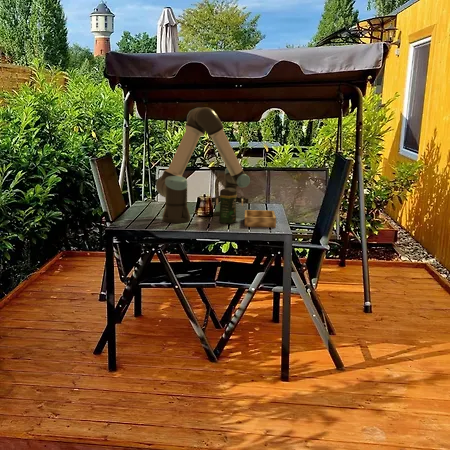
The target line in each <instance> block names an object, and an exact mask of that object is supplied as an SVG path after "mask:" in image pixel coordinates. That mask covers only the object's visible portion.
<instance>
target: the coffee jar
mask: <svg viewBox="0 0 450 450" xmlns="http://www.w3.org/2000/svg"><path fill="white" fill-rule="evenodd" d="M219 196H220V202H219V219H218V220H219V223H221V224H225V225H226V224H229V225H230V224H232V223H233V224H234V223H235V222H236V221H237V202H236V197H238V189H237V190H236V189H235V188H225V187H224V188H222V189H220V191H219Z"/></svg>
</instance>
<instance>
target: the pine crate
mask: <svg viewBox="0 0 450 450" xmlns="http://www.w3.org/2000/svg"><path fill="white" fill-rule="evenodd" d="M244 227H247V228H277V217H276V213H275V210H263V209H262V210H259V209H257V210H256V209H255V210H254V209H251V210H250V209H245V210H244Z"/></svg>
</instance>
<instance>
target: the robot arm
mask: <svg viewBox="0 0 450 450" xmlns="http://www.w3.org/2000/svg"><path fill="white" fill-rule="evenodd" d="M184 128H185V132H184V134H183V136H182V139H181V141H180V143H179V145H178V146H177V149H176V152H175V154H174V156H173V158H172V160H171V162H170V164H169V167H168V168H167V169H164V171H163V173H162V175H161V176H160V177H158V179H157V180H156V182H155V188H156V191H157V193H158V194H159V195H160V196H161V197H163V198H165V205H164V206H165V207H164V211H163V213H162V219H161V220H162V222H164V223H168V224H169V223H171V224H181V223H188V222H190V221H191V214H190V210H189V208H188V180H187V178H186V177H184V176H183V174H184V172H185V170H186V168H187V166H188V163H189V162H190V159H191V157H192V155H193V154H194V151H195V148H196V147H197V144H198V142H199V140H200V138H201V137H203V136H205V133H206V134H207V136H208V137H210V138H211V139H212V142H213V144H214V145H215V147H216V149H217V151H218V154H219V156H220V158H222V160H223V163H224V164H225V165H224V166H225V167H226V168H225V169H224V189H225V188H235V189H236V190H237V191H238V187H239V188H247V187H248V186H249V185H250V183H251V179H250V176H249V175H248V174H246V173H245V171H244V170H243V167H242V165H241V163H240V161H239V159H238V158H237V157H238V156H237V155H236V153H235V151H234V149H233V146H232V145H231V143H230V141H229V139H228V137H227V135H226V133H225V130H224V128H225V127H224V125H223V122H222V121H221V118H219V116H218V113H216V112H215V110H214V109H212V108H210V107H207V106H206V107H196V108H193V109H191V110H189V112H188V114H187V116H186V123H185V127H184ZM211 203H214V205H216V206H218V205H219V203H220V195H218V196H214V197H211ZM236 203H240V204H241V206H242V207H243V206H244V204H249V198H247V197H244V196H242V195H241V196H239V197H238V196H237V197H236Z"/></svg>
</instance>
